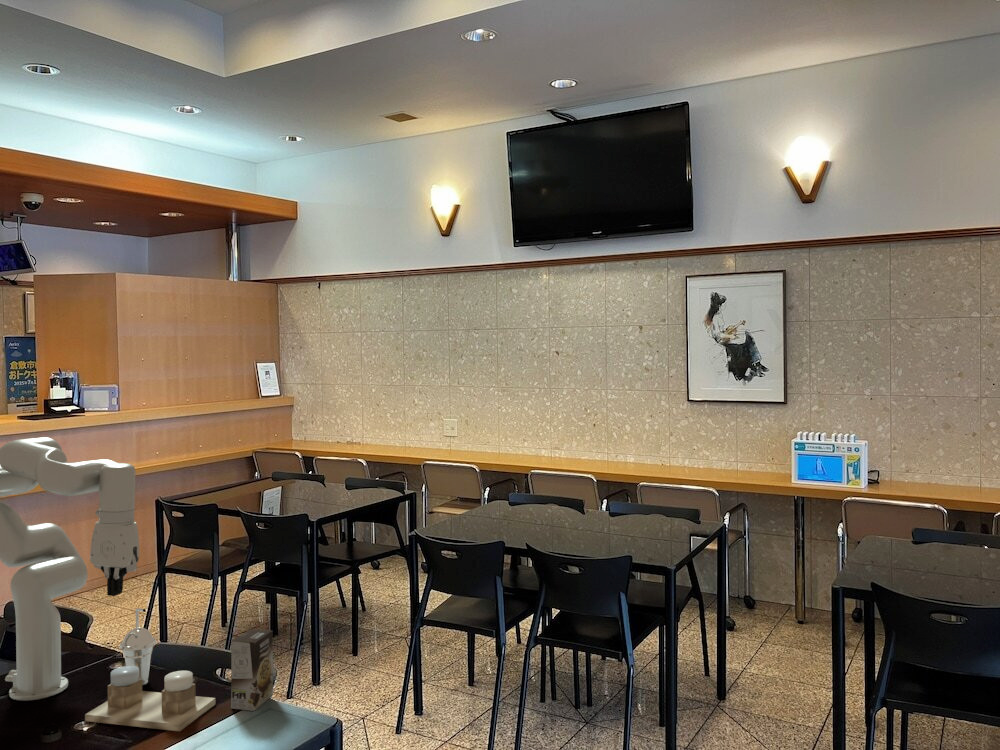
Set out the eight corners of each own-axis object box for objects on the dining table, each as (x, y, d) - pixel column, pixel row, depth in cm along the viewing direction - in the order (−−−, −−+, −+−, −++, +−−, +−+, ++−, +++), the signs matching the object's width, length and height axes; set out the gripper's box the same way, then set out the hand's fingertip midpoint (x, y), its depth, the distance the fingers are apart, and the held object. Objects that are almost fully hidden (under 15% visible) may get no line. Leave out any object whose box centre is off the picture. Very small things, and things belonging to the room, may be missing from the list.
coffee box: (255, 711, 183) (255, 642, 183) (230, 709, 185) (229, 640, 184) (274, 695, 192) (274, 629, 192) (250, 693, 193) (249, 627, 193)
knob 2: (159, 712, 179) (158, 679, 179) (175, 701, 185) (174, 669, 185) (182, 714, 178) (182, 681, 178) (198, 703, 184) (197, 671, 183)
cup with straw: (158, 674, 205) (158, 598, 204) (153, 688, 196) (153, 608, 196) (123, 678, 202) (122, 600, 202) (116, 692, 194) (115, 611, 193)
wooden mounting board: (85, 721, 178) (84, 692, 178) (126, 695, 192) (126, 668, 192) (179, 731, 173) (179, 702, 173) (215, 704, 187) (215, 677, 187)
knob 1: (105, 706, 182) (104, 674, 182) (122, 696, 188) (122, 664, 188) (127, 709, 181) (127, 676, 180) (144, 698, 186) (144, 666, 186)
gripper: (77, 517, 182) (75, 595, 183) (134, 522, 179) (132, 602, 180) (100, 511, 189) (98, 586, 190) (155, 516, 186) (153, 592, 187)
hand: (114, 594), depth 185 cm, fingers closed
